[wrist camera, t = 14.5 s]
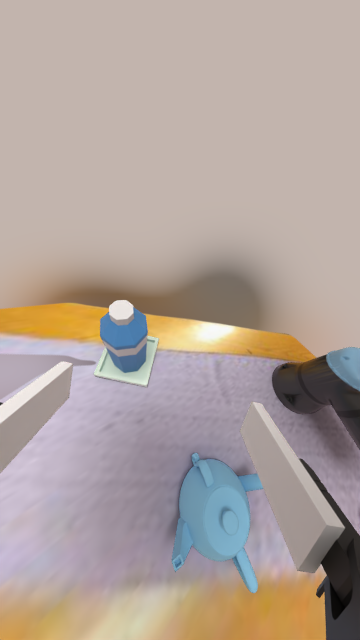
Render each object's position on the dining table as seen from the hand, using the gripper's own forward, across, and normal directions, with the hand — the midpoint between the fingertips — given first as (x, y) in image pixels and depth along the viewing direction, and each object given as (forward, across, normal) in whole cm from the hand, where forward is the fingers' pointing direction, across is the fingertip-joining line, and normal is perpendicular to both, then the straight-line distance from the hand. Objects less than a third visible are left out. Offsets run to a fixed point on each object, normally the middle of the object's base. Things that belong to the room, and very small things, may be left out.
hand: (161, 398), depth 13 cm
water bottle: (+36, -9, -17) cm, 40 cm away
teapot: (+17, +18, -36) cm, 44 cm away
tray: (+36, -9, -17) cm, 41 cm away
